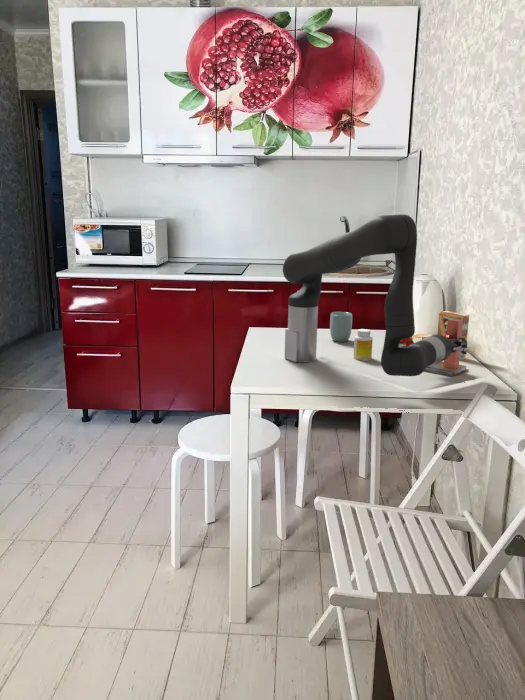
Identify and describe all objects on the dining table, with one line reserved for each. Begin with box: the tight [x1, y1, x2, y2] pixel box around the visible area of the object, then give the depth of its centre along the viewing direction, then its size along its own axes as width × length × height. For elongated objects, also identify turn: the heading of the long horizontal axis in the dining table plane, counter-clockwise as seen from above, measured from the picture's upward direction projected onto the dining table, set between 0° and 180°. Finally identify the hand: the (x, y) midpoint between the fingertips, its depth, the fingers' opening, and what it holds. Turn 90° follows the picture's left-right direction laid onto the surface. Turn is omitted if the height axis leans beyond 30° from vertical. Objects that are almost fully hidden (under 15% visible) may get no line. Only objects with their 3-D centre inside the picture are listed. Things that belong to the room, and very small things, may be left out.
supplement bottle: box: [353, 328, 374, 362], centre depth 182 cm, size 6×6×10 cm
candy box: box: [437, 310, 470, 361], centre depth 185 cm, size 9×4×15 cm, turn 33°
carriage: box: [426, 318, 467, 375], centre depth 169 cm, size 10×8×15 cm
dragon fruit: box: [399, 336, 415, 348], centre depth 193 cm, size 8×8×12 cm
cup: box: [329, 311, 353, 343], centre depth 210 cm, size 8×8×10 cm
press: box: [399, 344, 469, 378], centre depth 174 cm, size 23×11×6 cm, turn 49°
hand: (457, 340), depth 170 cm, fingers closed on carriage, 3 cm apart
